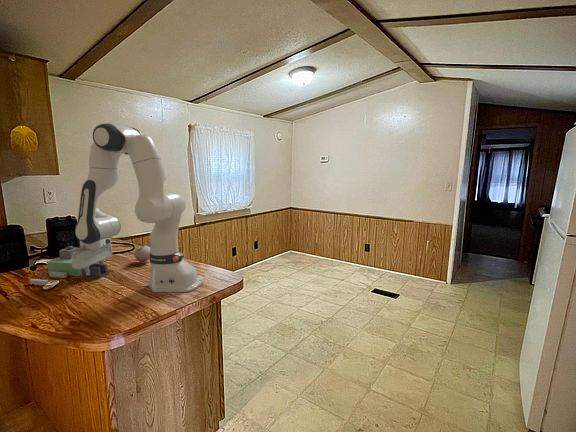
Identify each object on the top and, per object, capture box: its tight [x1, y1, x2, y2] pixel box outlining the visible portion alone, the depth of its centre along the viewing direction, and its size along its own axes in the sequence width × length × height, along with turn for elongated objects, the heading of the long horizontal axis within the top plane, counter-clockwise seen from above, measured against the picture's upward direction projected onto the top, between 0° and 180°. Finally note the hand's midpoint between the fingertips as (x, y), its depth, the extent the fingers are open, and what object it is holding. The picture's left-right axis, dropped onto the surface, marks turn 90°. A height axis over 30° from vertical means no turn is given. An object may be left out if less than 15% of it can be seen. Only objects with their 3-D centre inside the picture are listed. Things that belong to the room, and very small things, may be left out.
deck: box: [29, 245, 99, 286], centre depth 143 cm, size 16×24×11 cm, turn 170°
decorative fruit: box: [133, 243, 151, 263], centre depth 162 cm, size 9×8×10 cm
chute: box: [81, 263, 109, 279], centre depth 143 cm, size 5×9×5 cm, turn 80°
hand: (94, 272), depth 143 cm, fingers closed on chute, 5 cm apart
